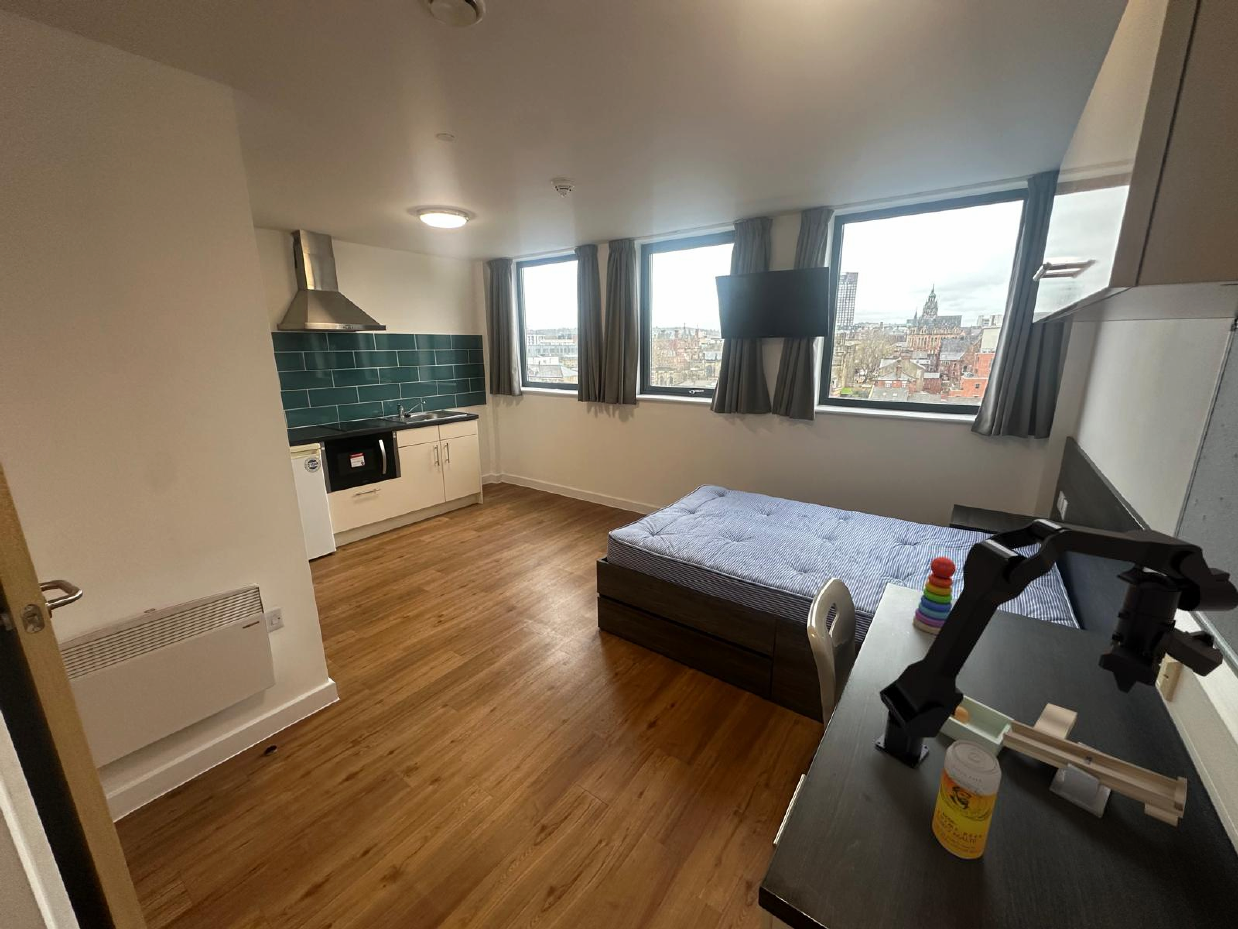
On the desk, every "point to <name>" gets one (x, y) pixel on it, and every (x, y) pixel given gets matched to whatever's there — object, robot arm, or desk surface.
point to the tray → (979, 726)
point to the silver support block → (1081, 788)
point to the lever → (1097, 763)
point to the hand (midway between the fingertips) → (1123, 691)
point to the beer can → (966, 799)
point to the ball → (961, 715)
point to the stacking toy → (936, 597)
